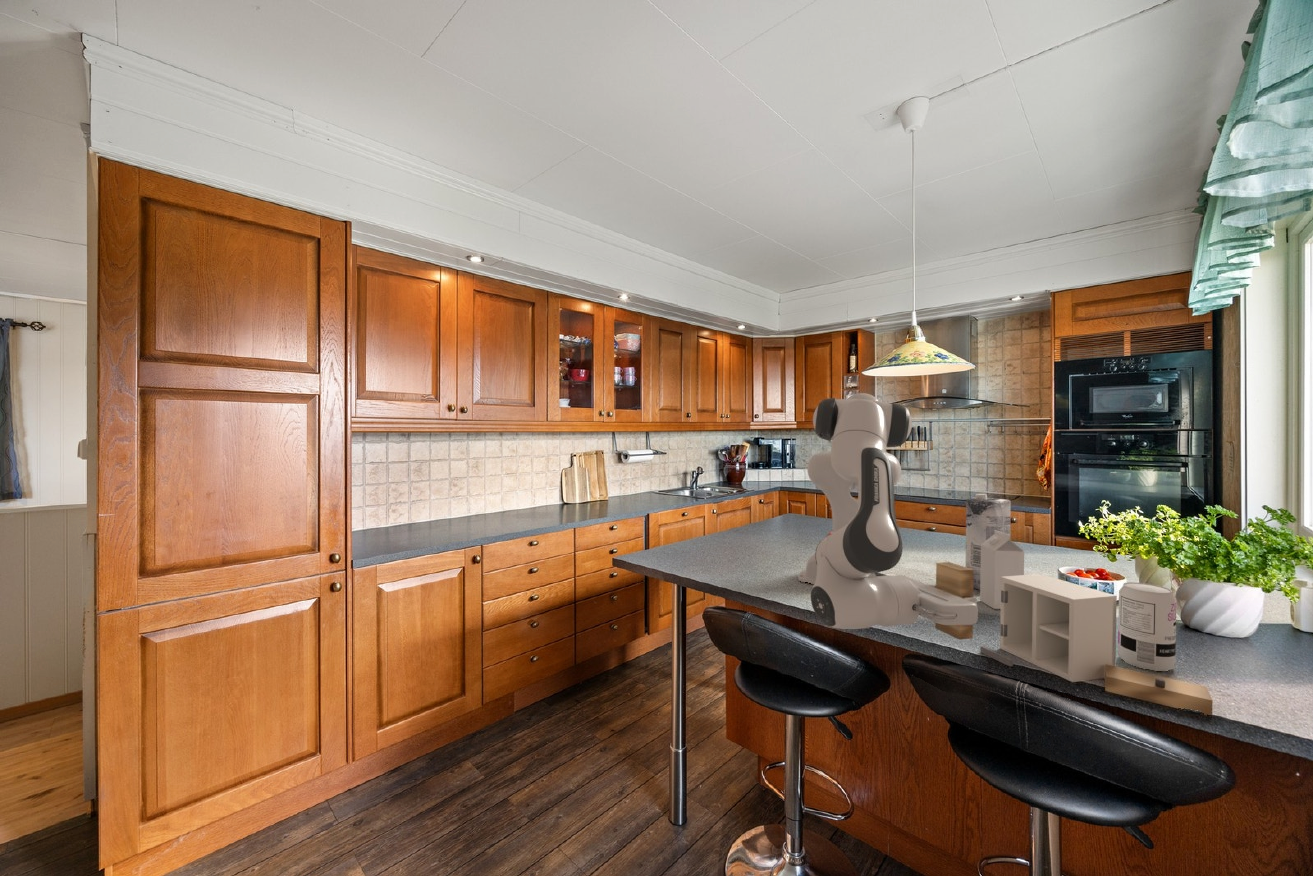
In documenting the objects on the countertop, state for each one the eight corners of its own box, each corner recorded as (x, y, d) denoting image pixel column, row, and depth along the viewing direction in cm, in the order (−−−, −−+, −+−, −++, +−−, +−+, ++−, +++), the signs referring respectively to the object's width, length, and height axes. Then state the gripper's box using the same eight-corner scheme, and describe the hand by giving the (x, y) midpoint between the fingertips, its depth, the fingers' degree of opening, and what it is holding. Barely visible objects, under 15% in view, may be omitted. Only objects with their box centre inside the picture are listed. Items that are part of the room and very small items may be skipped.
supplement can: (1110, 652, 109) (1111, 579, 109) (1162, 659, 106) (1163, 584, 106) (1128, 669, 101) (1130, 590, 101) (1184, 676, 98) (1186, 596, 98)
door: (1105, 693, 93) (1105, 670, 93) (1105, 680, 98) (1105, 659, 98) (1212, 719, 85) (1212, 694, 85) (1206, 704, 89) (1206, 680, 89)
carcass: (1048, 685, 95) (1049, 601, 95) (977, 650, 110) (978, 578, 109) (1115, 676, 98) (1116, 595, 98) (1037, 643, 113) (1038, 573, 113)
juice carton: (1013, 589, 152) (1015, 495, 151) (991, 595, 147) (993, 497, 146) (982, 581, 160) (983, 491, 159) (960, 586, 155) (961, 493, 154)
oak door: (954, 640, 100) (955, 570, 99) (931, 628, 105) (932, 563, 105) (972, 638, 100) (973, 569, 100) (948, 627, 106) (949, 562, 106)
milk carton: (1007, 601, 141) (1009, 530, 141) (1023, 610, 134) (1024, 535, 134) (979, 600, 142) (980, 529, 142) (993, 609, 135) (994, 535, 134)
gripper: (938, 600, 90) (1004, 595, 93) (863, 570, 110) (920, 566, 113) (937, 637, 90) (1004, 631, 93) (863, 600, 110) (920, 596, 113)
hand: (957, 595), depth 103 cm, fingers closed on oak door, 6 cm apart
